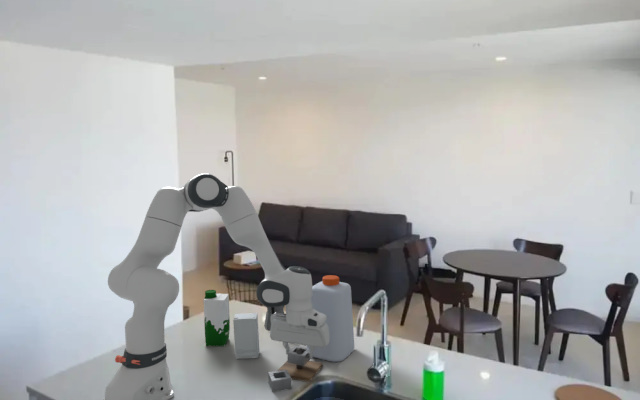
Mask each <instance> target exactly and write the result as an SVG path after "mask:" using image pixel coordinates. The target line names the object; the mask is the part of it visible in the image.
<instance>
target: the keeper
mask: <svg viewBox="0 0 640 400" xmlns="http://www.w3.org/2000/svg"><path fill="white" fill-rule="evenodd" d="M296 353H300V354H302V348H297V349H296ZM283 363H284V364H282V365H281V366H280V367H279V368H278V369H277V370H276V371H280V370H287V371H288V373H289V375H290V377H291V380H297V381H303V382H307V383H308V382H309V383H310V382H311V381H312V380H313V378H315V376H316V375H317V374H318V372H319V371H320V370H321V369H322V367H323V365H324V364H323V362H319V361H312V360H309V361H308V362H307V364H306V365H305V366H300V365H296V364H291V363H287V360H286V361H285V362H283ZM319 369H320V370H319Z"/></svg>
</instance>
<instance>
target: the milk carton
mask: <svg viewBox="0 0 640 400" xmlns="http://www.w3.org/2000/svg"><path fill="white" fill-rule="evenodd" d="M229 296H230V295H229V293H217V290H215V289H207V290H205V291H204V299H203V316H204V317H203V318H204V322H203V323H204V338H205V339H204V340H205V347H225V346H226V345H227V342H228V341H229V336H230V329H231V325H230V323H231V322H230V320H231V319H230V299H229V298H230V297H229Z"/></svg>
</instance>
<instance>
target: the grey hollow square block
mask: <svg viewBox="0 0 640 400" xmlns="http://www.w3.org/2000/svg"><path fill="white" fill-rule="evenodd" d="M291 348H292V349H291V350H290V351H289V352H288V355H287V360H286V361H287V363H291V364H296V365H300V366H305V365H306V364H307V362H308V361H311V359H312V358H307V352H308V351H311V349H310V348H307V347H305V346H300V345H294V346H293V347H291ZM297 348H302V354H300V353H296V349H297Z"/></svg>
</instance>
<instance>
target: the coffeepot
mask: <svg viewBox="0 0 640 400" xmlns="http://www.w3.org/2000/svg"><path fill="white" fill-rule="evenodd" d="M284 308H286V306H279V307H266V313H265V320H264V328H265V330H266V331H267V330H268V331H270V329H271V315H272V314H274V313H283V314H285V310H284Z"/></svg>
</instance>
